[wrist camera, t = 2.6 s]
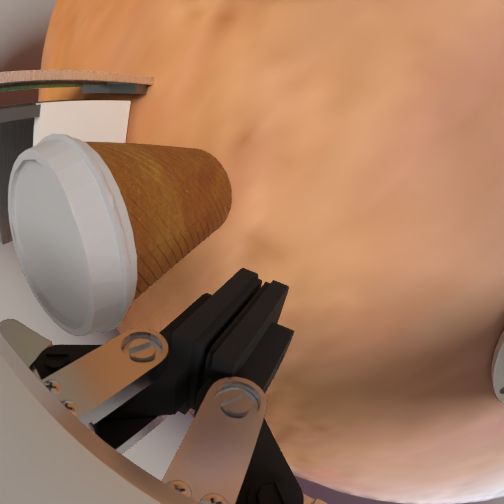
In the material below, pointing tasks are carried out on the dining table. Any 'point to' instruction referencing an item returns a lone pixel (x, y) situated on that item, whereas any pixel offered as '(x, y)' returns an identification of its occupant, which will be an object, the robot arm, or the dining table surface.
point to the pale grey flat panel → (75, 119)
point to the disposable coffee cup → (108, 222)
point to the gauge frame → (21, 131)
